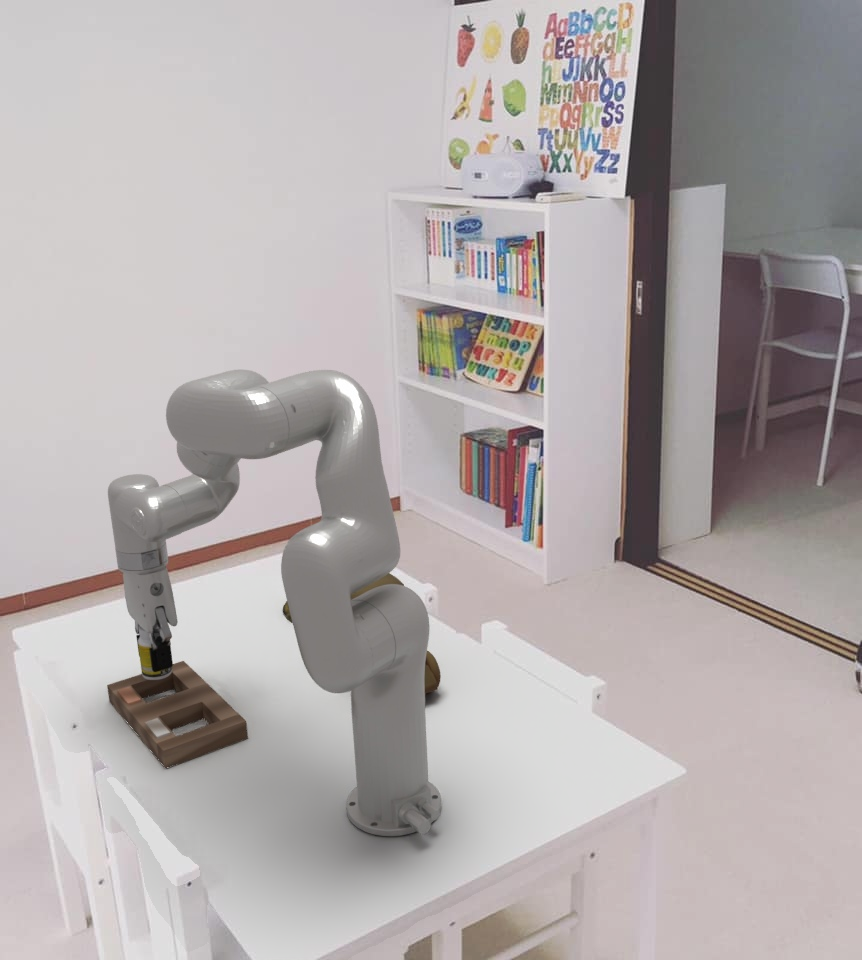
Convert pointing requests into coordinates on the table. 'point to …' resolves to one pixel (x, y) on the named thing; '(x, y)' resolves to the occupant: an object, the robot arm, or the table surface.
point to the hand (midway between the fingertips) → (155, 661)
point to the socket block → (177, 714)
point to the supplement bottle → (145, 657)
